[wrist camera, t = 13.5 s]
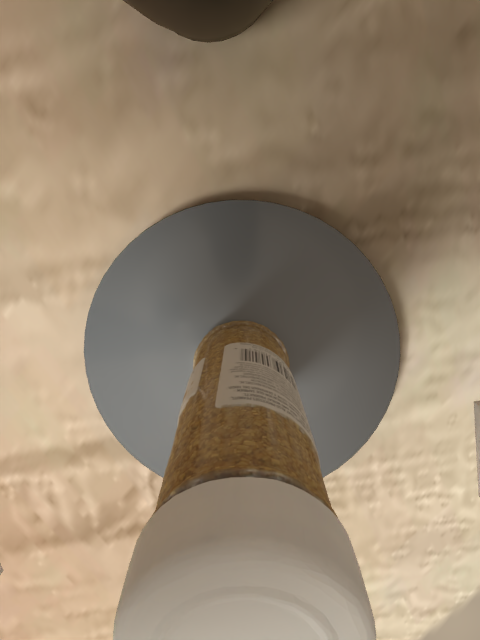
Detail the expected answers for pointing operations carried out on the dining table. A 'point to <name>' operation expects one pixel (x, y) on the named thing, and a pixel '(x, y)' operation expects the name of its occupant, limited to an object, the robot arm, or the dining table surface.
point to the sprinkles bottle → (243, 514)
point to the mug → (202, 16)
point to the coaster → (241, 305)
